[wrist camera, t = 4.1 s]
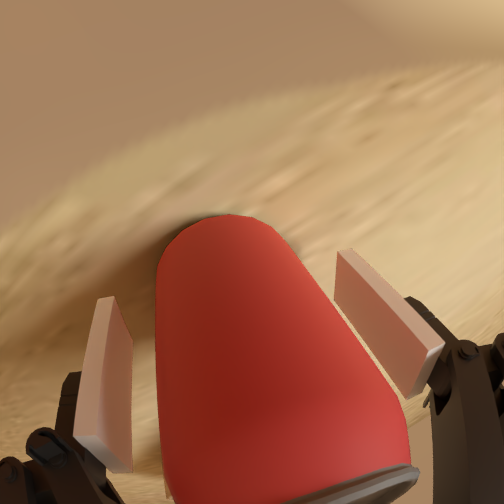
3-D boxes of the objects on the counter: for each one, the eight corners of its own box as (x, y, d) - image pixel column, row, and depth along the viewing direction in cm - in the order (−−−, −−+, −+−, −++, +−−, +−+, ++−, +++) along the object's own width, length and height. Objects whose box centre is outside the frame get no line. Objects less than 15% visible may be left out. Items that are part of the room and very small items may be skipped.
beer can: (235, 341, 18) (305, 545, 7) (131, 291, 15) (129, 556, 4) (313, 255, 16) (465, 453, 6) (210, 180, 13) (349, 473, 3)
